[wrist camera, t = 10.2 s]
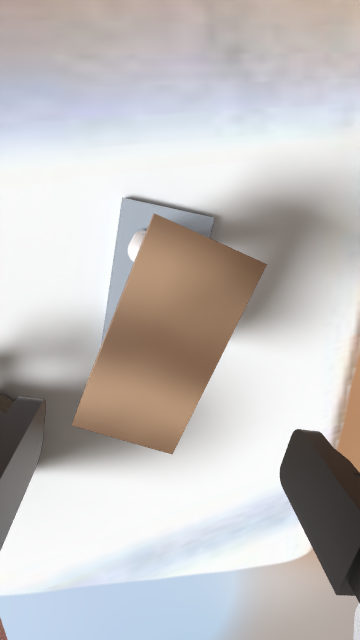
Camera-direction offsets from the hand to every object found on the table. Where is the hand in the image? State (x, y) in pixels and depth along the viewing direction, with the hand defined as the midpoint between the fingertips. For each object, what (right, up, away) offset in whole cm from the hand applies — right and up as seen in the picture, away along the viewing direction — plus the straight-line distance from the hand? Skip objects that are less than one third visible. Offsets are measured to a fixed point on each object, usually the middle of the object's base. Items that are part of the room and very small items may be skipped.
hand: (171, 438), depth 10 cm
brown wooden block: (-1, +3, +10) cm, 11 cm away
